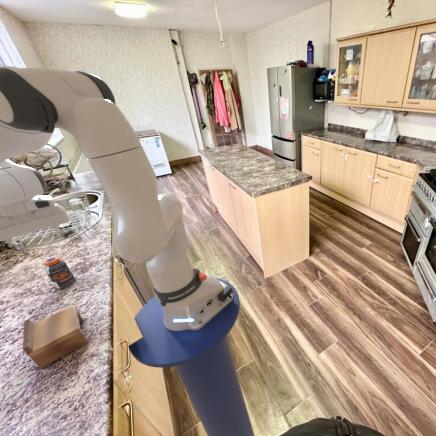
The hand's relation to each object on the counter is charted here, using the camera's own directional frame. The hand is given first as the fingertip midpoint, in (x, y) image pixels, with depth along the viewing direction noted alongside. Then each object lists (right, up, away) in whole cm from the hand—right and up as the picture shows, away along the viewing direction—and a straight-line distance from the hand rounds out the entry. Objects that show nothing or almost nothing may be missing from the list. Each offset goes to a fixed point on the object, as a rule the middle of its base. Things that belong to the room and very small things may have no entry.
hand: (40, 242), depth 81 cm
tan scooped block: (+23, -27, -15) cm, 38 cm away
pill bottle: (+1, -17, +8) cm, 19 cm away
